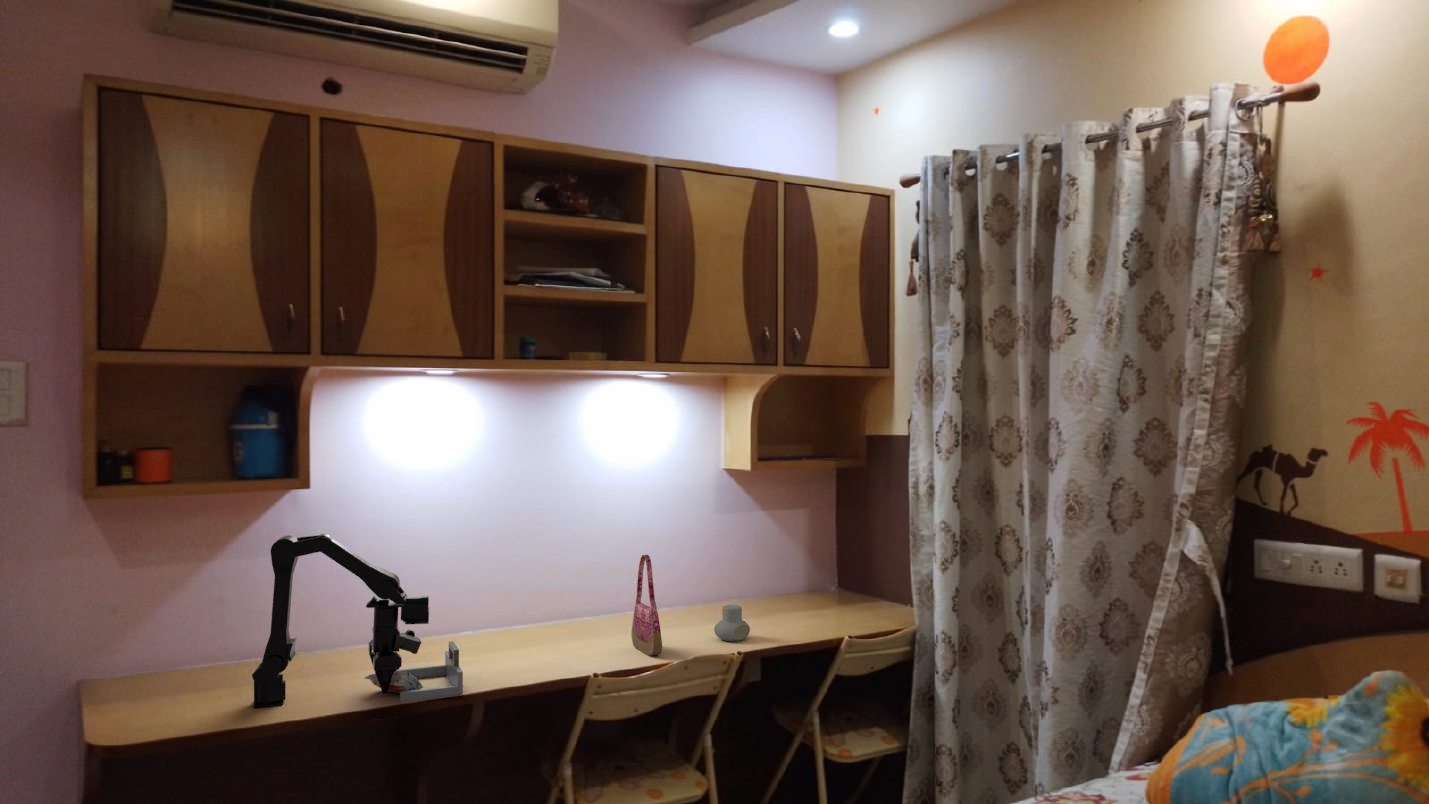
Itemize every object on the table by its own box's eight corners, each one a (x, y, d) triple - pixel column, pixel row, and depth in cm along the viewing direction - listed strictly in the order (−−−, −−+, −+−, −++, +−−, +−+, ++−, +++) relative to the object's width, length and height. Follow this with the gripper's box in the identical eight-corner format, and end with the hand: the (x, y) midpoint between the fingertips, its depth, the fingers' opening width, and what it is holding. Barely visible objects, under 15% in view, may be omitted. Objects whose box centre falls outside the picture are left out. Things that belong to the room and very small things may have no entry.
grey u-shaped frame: (400, 703, 229) (400, 662, 229) (392, 680, 248) (392, 641, 248) (462, 696, 235) (462, 655, 235) (449, 673, 254) (449, 636, 254)
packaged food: (400, 688, 229) (406, 668, 232) (361, 685, 234) (367, 665, 236) (421, 697, 236) (427, 676, 239) (383, 693, 241) (389, 673, 243)
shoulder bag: (630, 645, 284) (631, 551, 284) (640, 644, 285) (640, 550, 285) (653, 659, 269) (653, 559, 269) (662, 657, 270) (662, 559, 270)
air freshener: (734, 634, 298) (734, 602, 298) (754, 638, 292) (754, 606, 292) (709, 640, 290) (709, 607, 290) (729, 645, 284) (729, 611, 284)
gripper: (424, 631, 231) (421, 696, 231) (414, 614, 248) (412, 675, 248) (375, 634, 226) (373, 700, 226) (369, 617, 243) (367, 678, 243)
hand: (383, 687), depth 236 cm, fingers open, 9 cm apart
